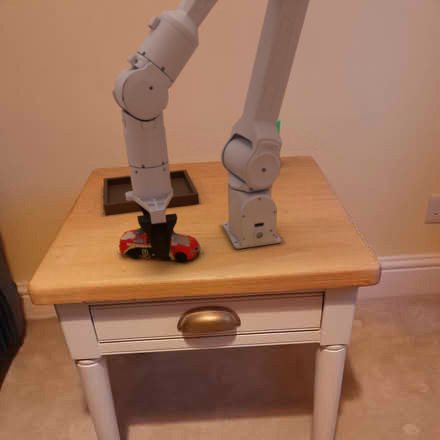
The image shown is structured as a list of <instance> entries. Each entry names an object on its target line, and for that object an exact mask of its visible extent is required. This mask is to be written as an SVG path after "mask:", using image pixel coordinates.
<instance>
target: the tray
mask: <svg viewBox="0 0 440 440" xmlns="http://www.w3.org/2000/svg"><path fill="white" fill-rule="evenodd" d="M170 180H171V188H172V189H173V197H172V198H171V200H170V202H169V204H168V205H167V207H166V209H167V208H176V207H183V206H192V205H199V204H200V198H199V196H200V195H199V193H198V191H197V188H196V186H195V185H194V182H193V180H192V179H191V177H190V174H189V172H188V171H187V169H179V170H170ZM129 191H133V188H132V182H131V176H130V175H123V176H114V177H113V176H112V177H104V178H103V210H104V215H105V216H109V215H111V216H112V215H119V214H125V213H134V212H142V211H141V209H140V207H139V206H138V204H137V203H136V201H134V200H131V201H128V200H126V194H125V193H126V192H129Z"/></svg>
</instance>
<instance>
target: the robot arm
mask: <svg viewBox="0 0 440 440" xmlns="http://www.w3.org/2000/svg"><path fill="white" fill-rule="evenodd" d="M218 1H219V0H181V1H180V2H179V5H178V6H177V8H176V9H175V10H174V9H173V10H164V11H162V12H161V13H160V15H159V16H152V17H151V18H150V20H149V21H148V23H147V27H148V28H150V31H148V33H147V35H146V36H145V38H144V40H143V42H141V44H140V46H139V48H138V49H137V51H136V53H135V54H133V53H130V55H128V56H129V57H128V58H127V62H128V63H129V64H130V65H131V66H128V67H126V68H124V69H121V71H120V72H119V73H118V74H117V75H116V78H115V80H114V84H113V85H114V88H113V90H112V91H111V93H112V97H113V99H114V101H115V103H116V104H117V106H118V107H119V108H120V109H121V111H120V112H121V121H122V124H123V125H122V126H123V137H124V144H125V149H126V157H127V163H128V168H129V176H131V182H132V188H133V191H129V192H126V193H125V194H126V200H128V201H131V200H134V201H136V203H137V204H138V206H139V207H140V209H141V211H140V212H141V215H137V216H136V218H137V223H138V225H139V228H142V229H143V231H144V232H145V233H146V235H147V237H148V239H149V242H150V245H151V248H152V251H153V253H154V255H155V257H156V258H162V257H168V256H169V253H170V245H171V236H172V232H173V230H174V228H175V227H176V225H177V222H178V216H177V213H167V214H166V210H167V208H166V207H167V205H168V204H169V202H170V200H171V198H172V197H173V189H172V188H171V180H170V171H171V170H170V162H169V151H168V143H167V135H166V134H167V133H166V127H165V121H164V111H165V110H166V109H167V107H168V103H169V89H171V88H172V86H173V85H174V83H175V82H176V80H177V79H178V77H179V76H180V74H181V73H182V72H183V70H184V68H185V67H186V65H187V63H188V62H189V61H190V59H191V57H192V56H193V54H195V51H196V50H197V48H198V47H199V45H200V44H199V43H200V41H199V27H200V26H201V25H202V23H203V22H204V21H205V19H206V18H207V16H208V15H209V14H210V13H211V11H212V10H213V8H214V6H216V4H217V2H218ZM310 1H311V0H267V4H266V8H265V13H264V18H263V21H262V27H261V30H260V35H259V40H258V44H257V48H256V53H255V57H254V61H253V66H252V70H251V75H250V79H249V84H248V88H247V93H246V96H245V101H244V105H243V109H242V115H241V117H240V118H238V120H237V121H236V122H235V123H234V124H233V125H232V127H231V131H230V134H229V137H228V139H227V140H226V141H225V143H224V144H223V146H222V147H221V148H222V149H221V153H220V161H221V165H222V166H223V168H224V169H225V170H226V171H227V173H228V175H227V176H228V177H227V200H228V201H227V204H228V208H227V209H228V221H226V222H222V227H223V229H224V230H225V232H226V234H227V237H228V238H229V240H230V242H231V244H232V246H233V247H234V249H237V250H238V249H244V248H245V249H246V248H253V247H260V246H266V245H273V244H280V243H281V242H282V239H281V237H280V236H279V235H278V233H277V222H278V221H277V219H278V208H277V204H276V203H275V201H274V199H273V195H272V193H273V192H272V190H273V187H274V186H273V185H274V183H275V182H276V181H277V179H278V178H279V175H280V172H281V168H282V162H281V150H282V146H283V141H282V138H281V134H280V135H279V132H278V129H277V121H278V119H279V117H280V113H281V109H282V106H283V101H284V99H285V94H286V90H287V87H288V82H289V80H290V75H291V72H292V68H293V64H294V60H295V57H296V53H297V49H298V45H299V41H300V38H301V34H302V30H303V27H304V23H305V20H306V16H307V11H308V8H309V4H310Z"/></svg>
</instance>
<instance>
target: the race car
mask: <svg viewBox="0 0 440 440" xmlns="http://www.w3.org/2000/svg"><path fill="white" fill-rule="evenodd" d="M118 248H119V252H120V253H121V254H122V255H124V256H127V257H130V258H131V259H133V260H138V259H139V258H143V259H157V260H169V261H170V260H171V261H177V262H178V263H185V262H186V261H187V260H192V259H193V258H195V257H197V256H198V255H199V254H200V252H201V245H200V244H199V241H198V240H197V238H195V237H193V236H191V235H187V234H181V233H177V232H175V230H174V229H173V232H172V236H171V245H170V253H169V256H168V257H162V258H156V257H155V255H154V253H153V251H152V248H151V245H150V242H149V239H148V237H147V235H146V233H145V232H144V231H143V229H142V228H141V227H139V228H136V229H129V230H127V231H125V232H124V233H123V234H122V235H121V236H120V238H119V244H118Z"/></svg>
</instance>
